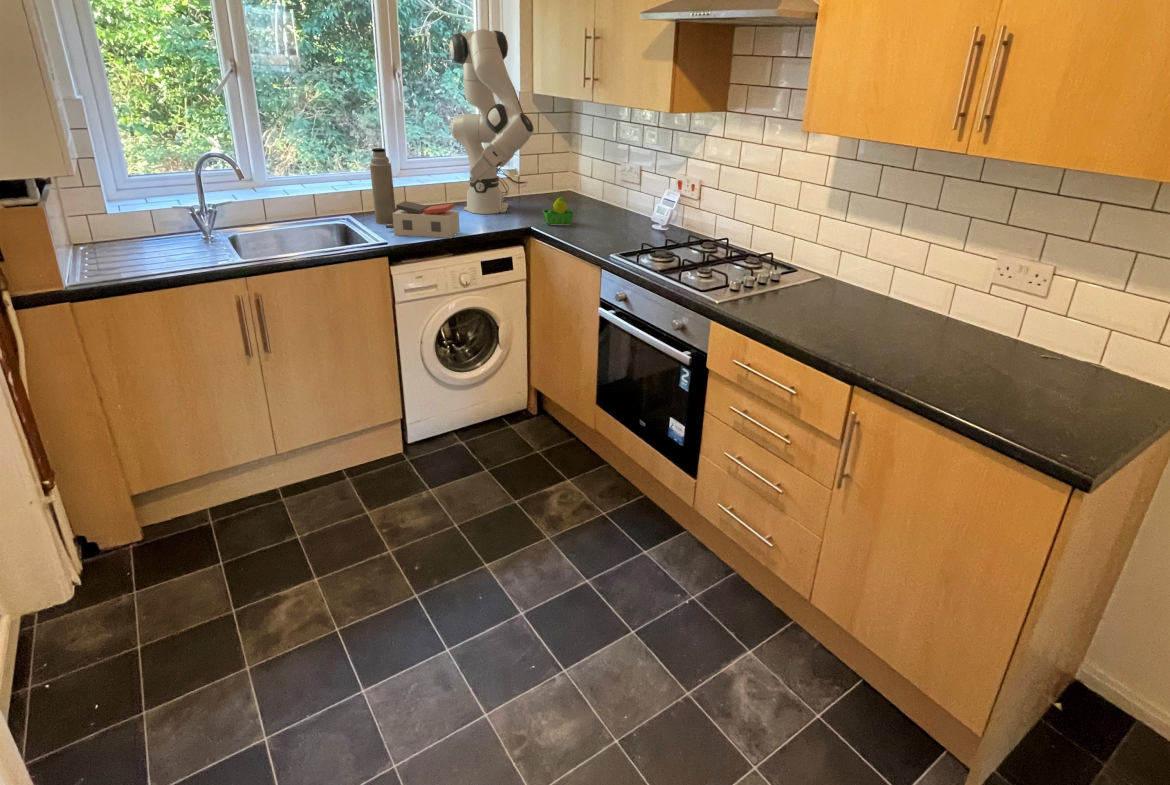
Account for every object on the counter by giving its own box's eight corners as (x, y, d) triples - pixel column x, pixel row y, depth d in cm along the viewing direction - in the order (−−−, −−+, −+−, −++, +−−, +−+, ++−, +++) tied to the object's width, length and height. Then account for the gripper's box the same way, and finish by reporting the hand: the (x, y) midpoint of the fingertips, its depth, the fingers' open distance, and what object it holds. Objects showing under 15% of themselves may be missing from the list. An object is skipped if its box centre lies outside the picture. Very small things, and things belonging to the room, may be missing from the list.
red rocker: (432, 211, 268) (431, 206, 268) (454, 208, 266) (453, 203, 266) (424, 215, 261) (423, 210, 260) (447, 213, 259) (446, 207, 259)
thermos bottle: (398, 219, 288) (391, 147, 276) (393, 224, 281) (386, 150, 269) (379, 219, 288) (371, 147, 276) (373, 223, 281) (365, 149, 269)
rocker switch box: (392, 228, 275) (390, 207, 271) (459, 232, 271) (458, 210, 268) (381, 234, 266) (379, 212, 262) (450, 238, 262) (449, 216, 259)
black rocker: (404, 206, 269) (404, 200, 268) (427, 211, 269) (427, 206, 268) (396, 210, 262) (396, 204, 261) (419, 215, 262) (419, 210, 261)
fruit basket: (570, 221, 291) (570, 193, 286) (575, 226, 283) (575, 197, 278) (542, 222, 288) (542, 194, 284) (546, 227, 281) (546, 198, 276)
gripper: (499, 143, 260) (474, 170, 266) (482, 150, 242) (456, 179, 247) (511, 157, 261) (486, 183, 267) (496, 164, 243) (470, 192, 249)
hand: (472, 181), depth 257 cm, fingers closed
